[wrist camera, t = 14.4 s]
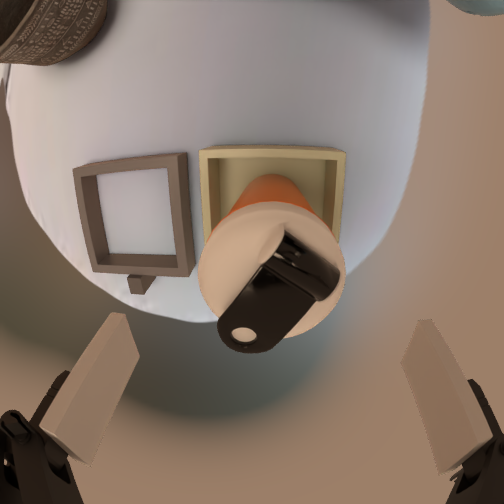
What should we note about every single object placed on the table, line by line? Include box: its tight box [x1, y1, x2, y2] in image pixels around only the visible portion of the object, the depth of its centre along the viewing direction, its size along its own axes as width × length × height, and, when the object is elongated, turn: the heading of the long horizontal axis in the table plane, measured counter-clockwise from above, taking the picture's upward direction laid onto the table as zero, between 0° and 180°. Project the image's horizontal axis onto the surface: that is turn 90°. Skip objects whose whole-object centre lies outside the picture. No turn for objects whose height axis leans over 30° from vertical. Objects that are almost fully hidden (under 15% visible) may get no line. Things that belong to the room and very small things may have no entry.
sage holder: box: [199, 145, 346, 245], centre depth 30 cm, size 14×14×6 cm
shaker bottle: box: [198, 174, 346, 353], centre depth 23 cm, size 9×9×20 cm
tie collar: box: [73, 152, 196, 295], centre depth 33 cm, size 17×14×4 cm
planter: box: [0, 0, 107, 66], centre depth 16 cm, size 14×14×15 cm
